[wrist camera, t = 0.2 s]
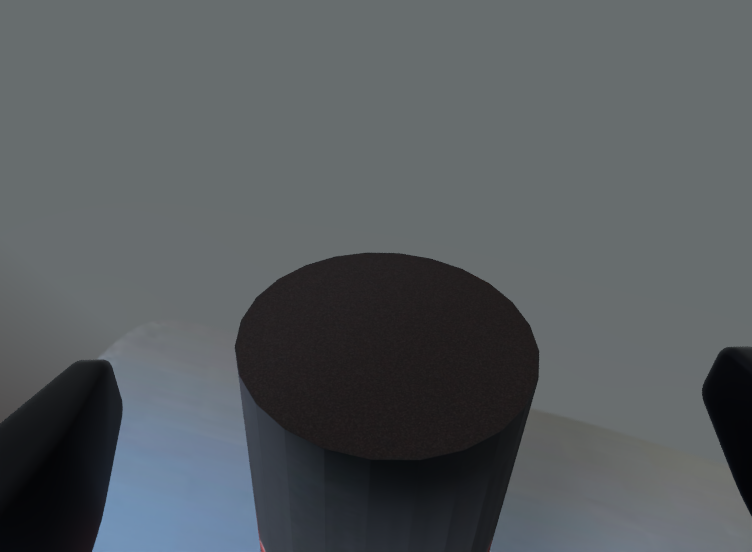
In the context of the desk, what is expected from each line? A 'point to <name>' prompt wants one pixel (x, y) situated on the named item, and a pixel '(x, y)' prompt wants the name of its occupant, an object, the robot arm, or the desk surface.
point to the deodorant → (383, 405)
